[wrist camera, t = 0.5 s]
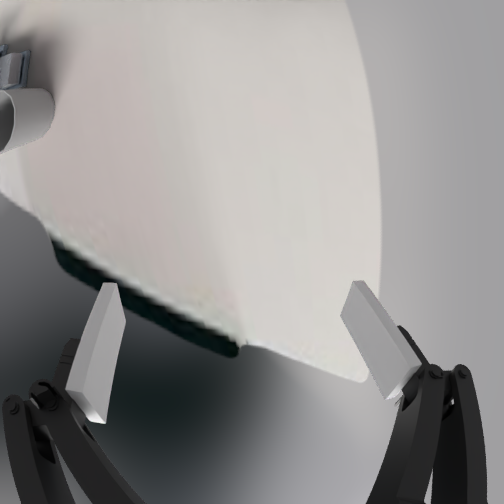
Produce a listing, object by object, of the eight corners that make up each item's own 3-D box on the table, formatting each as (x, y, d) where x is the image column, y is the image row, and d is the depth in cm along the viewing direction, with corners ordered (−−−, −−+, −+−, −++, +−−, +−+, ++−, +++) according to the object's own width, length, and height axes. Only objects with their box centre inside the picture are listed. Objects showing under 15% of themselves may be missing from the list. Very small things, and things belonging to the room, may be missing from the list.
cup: (12, 138, 27) (-27, 153, 18) (20, 88, 23) (-20, 92, 14) (49, 142, 29) (11, 158, 20) (60, 88, 25) (21, 89, 17)
